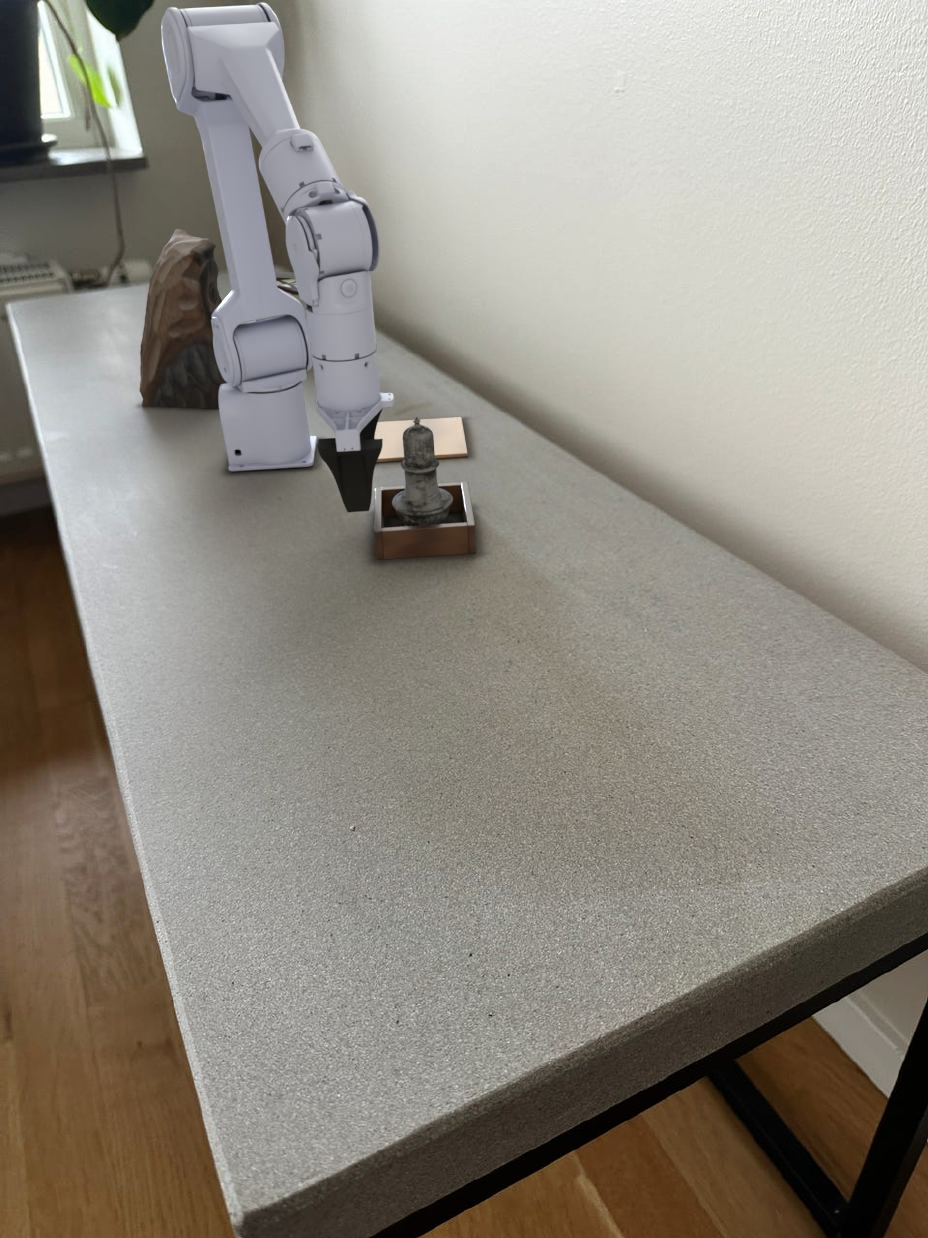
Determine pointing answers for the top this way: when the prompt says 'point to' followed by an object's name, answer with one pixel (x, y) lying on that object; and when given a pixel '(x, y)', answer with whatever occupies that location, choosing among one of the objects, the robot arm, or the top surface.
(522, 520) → the top surface
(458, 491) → the holder
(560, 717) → the top surface
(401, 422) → the coaster
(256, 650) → the top surface
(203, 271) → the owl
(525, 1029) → the top surface
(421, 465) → the salt shaker
